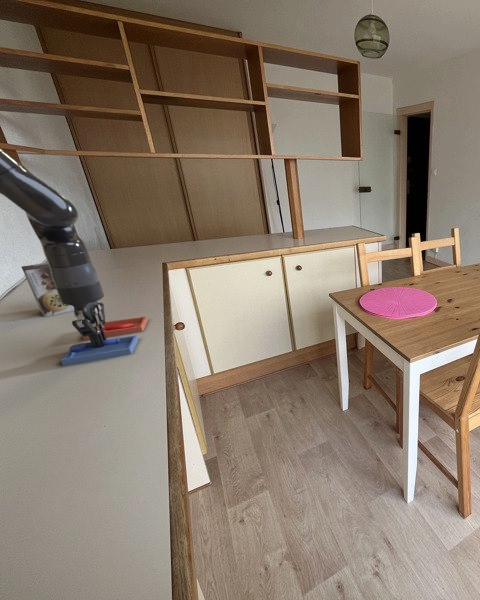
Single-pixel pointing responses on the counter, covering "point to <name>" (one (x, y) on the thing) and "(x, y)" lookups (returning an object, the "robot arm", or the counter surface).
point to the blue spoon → (85, 346)
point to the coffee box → (45, 289)
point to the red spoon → (118, 327)
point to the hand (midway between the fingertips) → (100, 345)
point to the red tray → (138, 327)
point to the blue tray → (102, 351)
